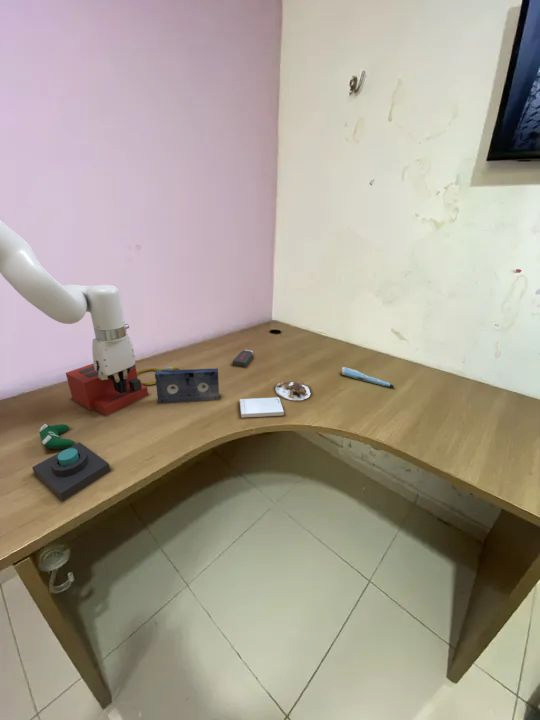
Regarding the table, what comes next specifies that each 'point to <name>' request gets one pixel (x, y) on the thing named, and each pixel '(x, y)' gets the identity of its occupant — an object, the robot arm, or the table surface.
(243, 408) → the hard drive
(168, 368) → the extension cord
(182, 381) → the vhs cassette tape
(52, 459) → the control block
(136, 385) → the toaster slider
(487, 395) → the table surface
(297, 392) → the plate of food
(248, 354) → the usb drive
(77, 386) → the toaster
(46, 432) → the green piece
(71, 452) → the button
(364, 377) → the light blue tapered rod
